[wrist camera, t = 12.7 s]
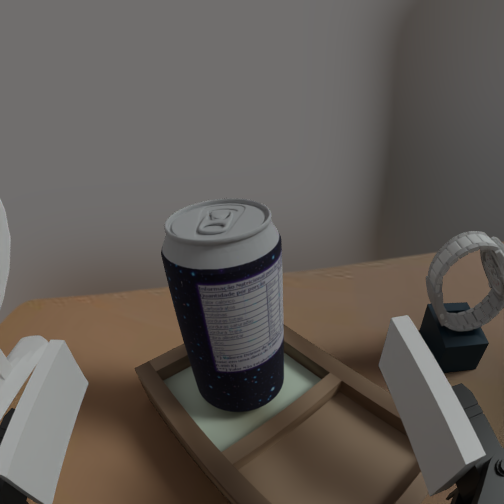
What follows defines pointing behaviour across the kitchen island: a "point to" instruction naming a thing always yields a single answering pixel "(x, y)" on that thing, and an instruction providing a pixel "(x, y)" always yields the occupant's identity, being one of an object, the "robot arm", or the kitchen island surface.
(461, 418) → the robot arm
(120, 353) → the kitchen island surface
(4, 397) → the heart sculpture
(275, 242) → the beverage can
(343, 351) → the kitchen island surface
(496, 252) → the watch
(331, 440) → the brown divided tray
